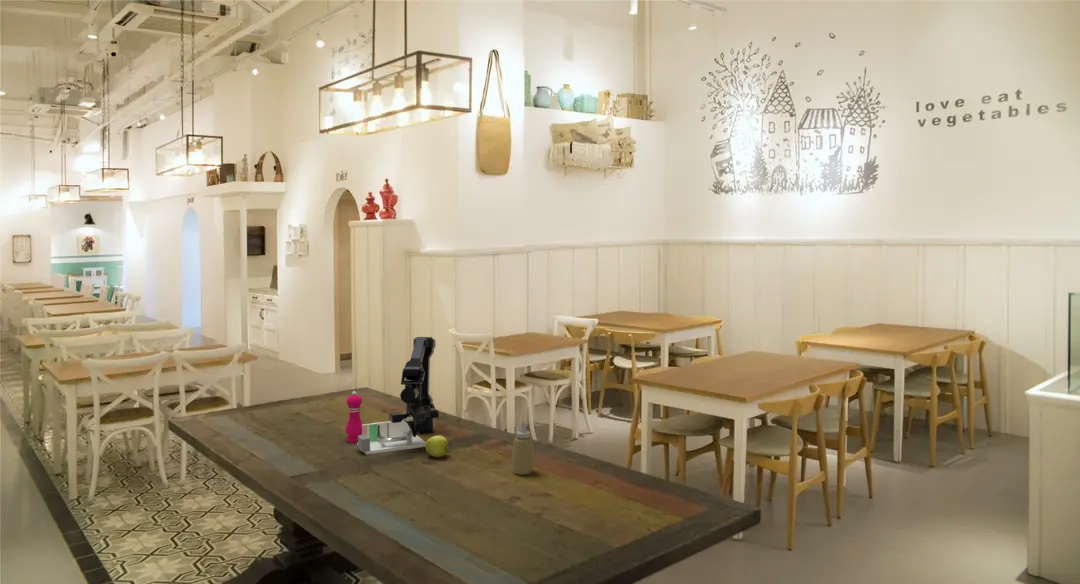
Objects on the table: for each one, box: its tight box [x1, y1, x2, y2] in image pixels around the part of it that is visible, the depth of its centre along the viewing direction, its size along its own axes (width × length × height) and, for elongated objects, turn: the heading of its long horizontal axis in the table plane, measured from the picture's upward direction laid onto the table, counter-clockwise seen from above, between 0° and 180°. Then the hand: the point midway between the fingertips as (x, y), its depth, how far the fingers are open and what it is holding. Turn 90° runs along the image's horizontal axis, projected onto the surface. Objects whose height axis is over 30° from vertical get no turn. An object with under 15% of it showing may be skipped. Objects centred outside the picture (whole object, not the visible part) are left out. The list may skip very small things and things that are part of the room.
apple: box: [424, 435, 450, 458], centre depth 286 cm, size 8×9×8 cm
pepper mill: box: [345, 390, 364, 444], centre depth 308 cm, size 7×7×20 cm
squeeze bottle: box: [511, 421, 536, 476], centre depth 267 cm, size 8×8×18 cm
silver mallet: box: [377, 425, 413, 445], centre depth 300 cm, size 12×11×6 cm
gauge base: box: [356, 420, 426, 456], centre depth 300 cm, size 26×13×8 cm, turn 117°
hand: (414, 436), depth 301 cm, fingers closed
